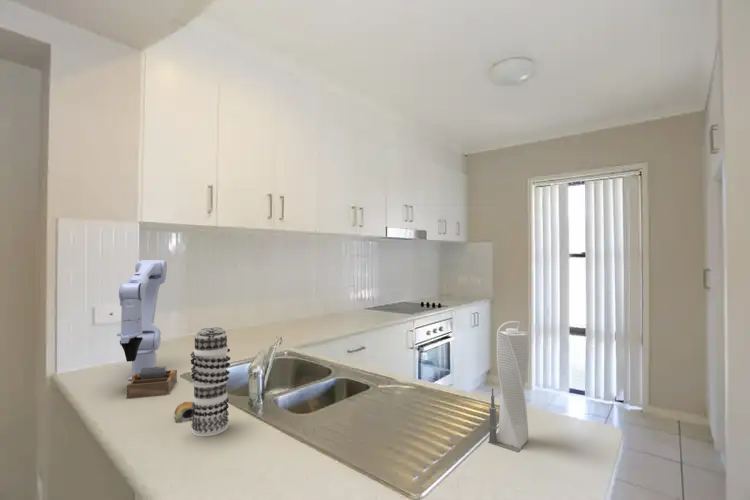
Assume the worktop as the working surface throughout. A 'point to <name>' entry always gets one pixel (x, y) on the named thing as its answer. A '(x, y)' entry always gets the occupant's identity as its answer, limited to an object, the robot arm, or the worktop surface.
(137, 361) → the robot arm
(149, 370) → the panel
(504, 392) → the skyscraper
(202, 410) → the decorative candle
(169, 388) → the rack
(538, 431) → the worktop surface
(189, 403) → the pastry
